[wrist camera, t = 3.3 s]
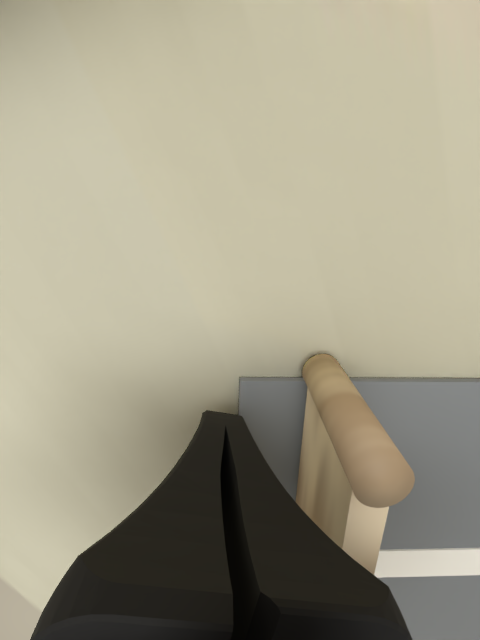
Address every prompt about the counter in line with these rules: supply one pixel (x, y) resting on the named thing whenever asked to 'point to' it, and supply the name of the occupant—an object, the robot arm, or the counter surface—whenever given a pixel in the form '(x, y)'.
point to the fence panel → (347, 463)
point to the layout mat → (421, 503)
